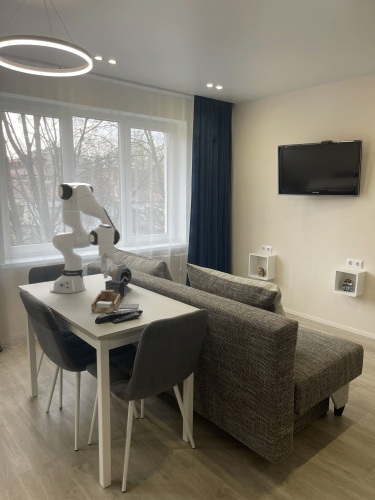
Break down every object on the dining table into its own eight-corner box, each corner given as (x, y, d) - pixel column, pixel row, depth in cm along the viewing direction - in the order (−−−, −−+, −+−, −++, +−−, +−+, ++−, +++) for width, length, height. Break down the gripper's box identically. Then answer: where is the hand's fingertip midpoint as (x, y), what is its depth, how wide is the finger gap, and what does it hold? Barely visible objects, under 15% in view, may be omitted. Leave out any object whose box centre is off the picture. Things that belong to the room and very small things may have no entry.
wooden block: (101, 306, 214) (100, 291, 212) (101, 304, 217) (101, 289, 215) (113, 306, 214) (112, 291, 213) (113, 304, 217) (113, 290, 216)
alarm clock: (118, 293, 240) (118, 267, 238) (108, 291, 246) (108, 265, 244) (134, 289, 252) (134, 264, 249) (124, 287, 258) (124, 262, 255)
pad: (119, 308, 210) (119, 308, 210) (121, 304, 218) (121, 303, 218) (137, 308, 210) (137, 308, 210) (138, 304, 218) (138, 303, 218)
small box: (125, 296, 233) (125, 280, 232) (120, 299, 227) (119, 283, 226) (110, 295, 237) (110, 279, 235) (105, 297, 231) (104, 281, 229)
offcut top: (96, 307, 205) (96, 303, 204) (99, 305, 209) (99, 301, 208) (110, 308, 203) (110, 304, 203) (112, 306, 207) (112, 301, 207)
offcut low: (96, 312, 205) (96, 307, 204) (97, 309, 208) (97, 305, 208) (112, 312, 205) (112, 307, 204) (113, 309, 209) (113, 305, 208)
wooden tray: (91, 312, 202) (91, 303, 201) (98, 301, 223) (98, 293, 222) (115, 312, 203) (115, 303, 202) (120, 301, 223) (120, 293, 223)
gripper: (109, 255, 200) (109, 280, 202) (114, 250, 220) (115, 272, 222) (97, 255, 200) (98, 280, 202) (104, 250, 220) (104, 273, 222)
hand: (107, 276), depth 212 cm, fingers open, 8 cm apart
